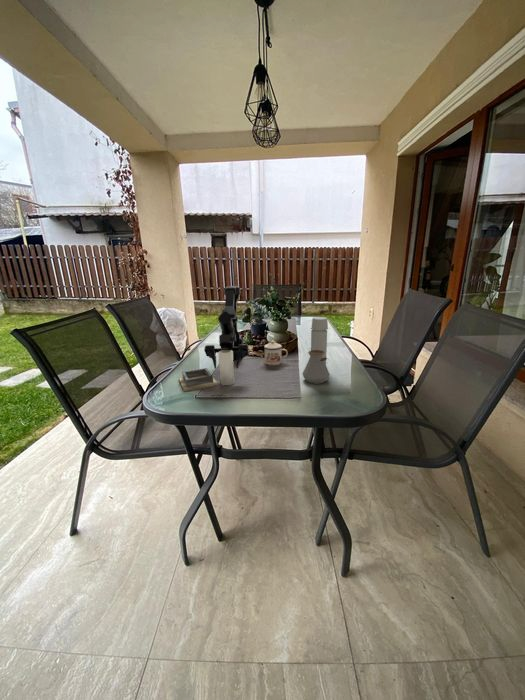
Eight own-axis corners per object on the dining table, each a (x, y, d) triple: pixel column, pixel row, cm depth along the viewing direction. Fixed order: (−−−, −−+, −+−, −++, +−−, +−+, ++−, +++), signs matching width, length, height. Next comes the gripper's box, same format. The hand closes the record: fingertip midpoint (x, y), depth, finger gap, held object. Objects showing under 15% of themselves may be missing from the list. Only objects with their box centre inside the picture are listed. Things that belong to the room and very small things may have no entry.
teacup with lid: (264, 366, 144) (264, 343, 141) (264, 360, 153) (263, 339, 150) (288, 365, 144) (288, 342, 141) (286, 359, 153) (286, 338, 150)
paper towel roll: (218, 381, 126) (216, 350, 122) (232, 379, 128) (230, 349, 124) (222, 386, 120) (220, 354, 117) (236, 384, 123) (234, 352, 119)
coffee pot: (300, 376, 130) (300, 344, 126) (325, 375, 130) (326, 343, 126) (310, 396, 109) (311, 358, 105) (340, 395, 110) (342, 357, 106)
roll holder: (179, 379, 129) (178, 371, 128) (209, 374, 134) (209, 366, 133) (184, 391, 117) (183, 382, 116) (217, 385, 122) (217, 376, 121)
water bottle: (326, 373, 132) (328, 319, 125) (309, 372, 133) (310, 319, 126) (326, 367, 140) (328, 316, 133) (310, 366, 142) (311, 316, 135)
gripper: (203, 327, 122) (200, 359, 114) (247, 326, 121) (247, 358, 114) (208, 340, 131) (205, 371, 124) (249, 339, 131) (248, 370, 124)
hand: (226, 368), depth 121 cm, fingers open, 9 cm apart
